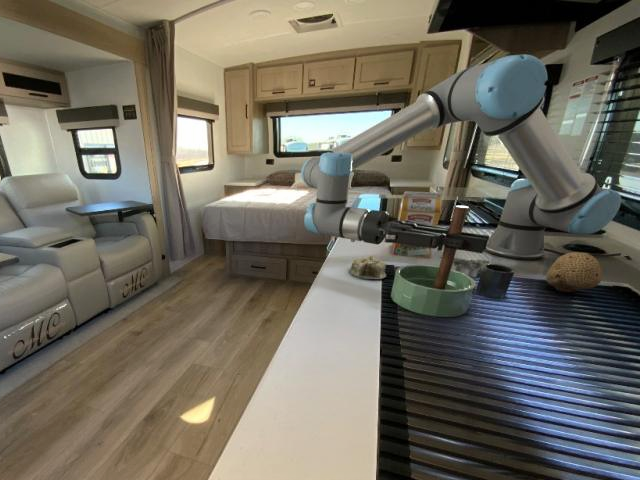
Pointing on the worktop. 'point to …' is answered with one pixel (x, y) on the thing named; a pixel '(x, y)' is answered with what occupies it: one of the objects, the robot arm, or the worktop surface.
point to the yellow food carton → (418, 218)
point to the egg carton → (468, 266)
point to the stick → (449, 253)
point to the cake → (368, 268)
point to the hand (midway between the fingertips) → (485, 244)
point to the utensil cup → (494, 281)
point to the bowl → (432, 291)
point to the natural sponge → (574, 272)
